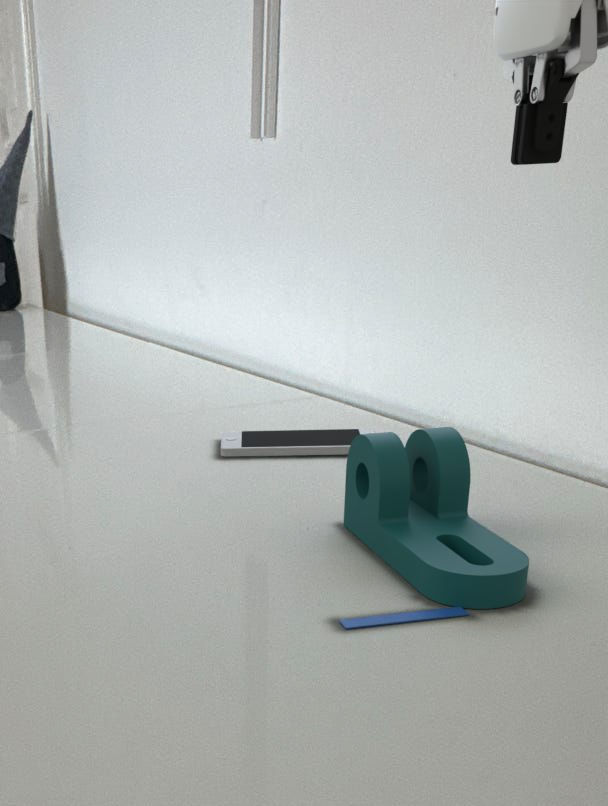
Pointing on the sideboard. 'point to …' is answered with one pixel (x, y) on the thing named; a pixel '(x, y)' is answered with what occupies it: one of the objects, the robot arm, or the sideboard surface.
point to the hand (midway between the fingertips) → (535, 163)
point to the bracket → (429, 519)
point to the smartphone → (289, 442)
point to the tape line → (403, 617)
